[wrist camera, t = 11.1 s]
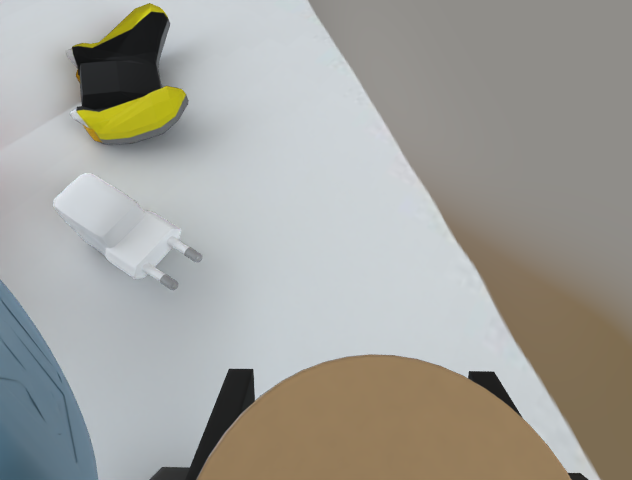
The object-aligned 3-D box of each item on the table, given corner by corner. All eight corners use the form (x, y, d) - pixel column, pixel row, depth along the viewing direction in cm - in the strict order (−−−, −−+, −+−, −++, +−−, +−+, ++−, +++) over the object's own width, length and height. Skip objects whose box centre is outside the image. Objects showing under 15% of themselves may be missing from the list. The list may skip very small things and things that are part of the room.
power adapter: (220, 268, 36) (202, 230, 31) (179, 317, 35) (153, 285, 29) (120, 204, 40) (89, 160, 35) (77, 245, 38) (37, 206, 33)
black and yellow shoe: (177, 42, 50) (83, 63, 49) (161, -7, 45) (56, 15, 44) (202, 144, 43) (92, 171, 42) (186, 99, 38) (61, 128, 37)
